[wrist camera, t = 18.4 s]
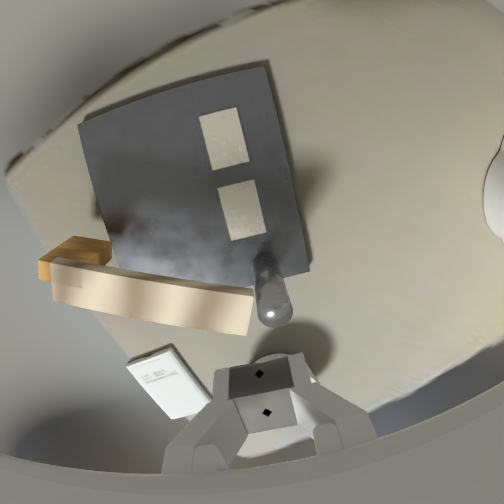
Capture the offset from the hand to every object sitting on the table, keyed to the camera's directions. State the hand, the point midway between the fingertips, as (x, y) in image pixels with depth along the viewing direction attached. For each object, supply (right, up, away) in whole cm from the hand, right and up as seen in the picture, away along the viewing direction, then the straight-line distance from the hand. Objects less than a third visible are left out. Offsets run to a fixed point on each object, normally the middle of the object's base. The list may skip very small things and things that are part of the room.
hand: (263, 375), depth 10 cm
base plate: (-7, +11, +25) cm, 28 cm away
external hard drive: (-12, -15, +35) cm, 40 cm away
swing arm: (-11, +3, +24) cm, 26 cm away
